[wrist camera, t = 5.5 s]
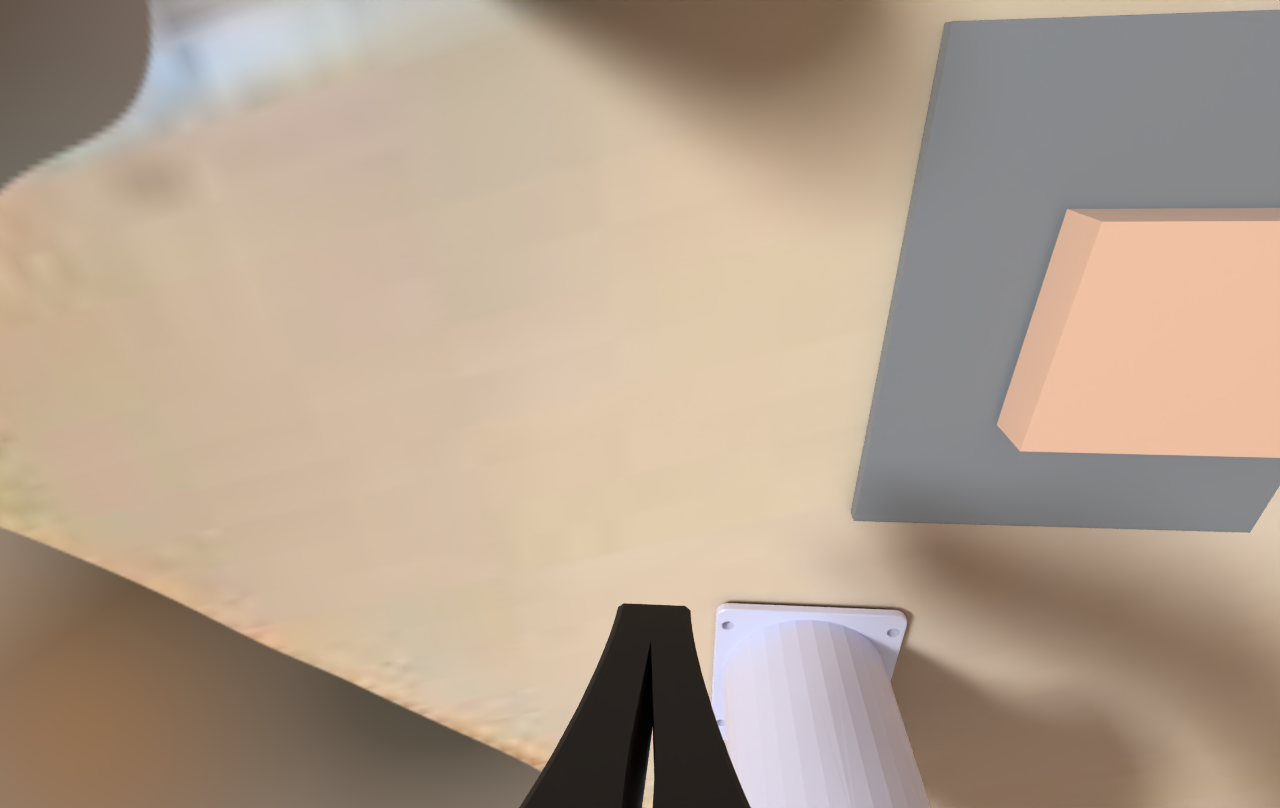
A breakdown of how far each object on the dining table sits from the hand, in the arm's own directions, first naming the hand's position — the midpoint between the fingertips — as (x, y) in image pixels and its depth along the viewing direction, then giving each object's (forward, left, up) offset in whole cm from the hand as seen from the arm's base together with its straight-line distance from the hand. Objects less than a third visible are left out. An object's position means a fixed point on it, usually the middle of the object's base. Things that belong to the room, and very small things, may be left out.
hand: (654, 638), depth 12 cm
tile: (+3, -11, -9) cm, 14 cm away
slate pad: (+3, -14, -10) cm, 18 cm away
